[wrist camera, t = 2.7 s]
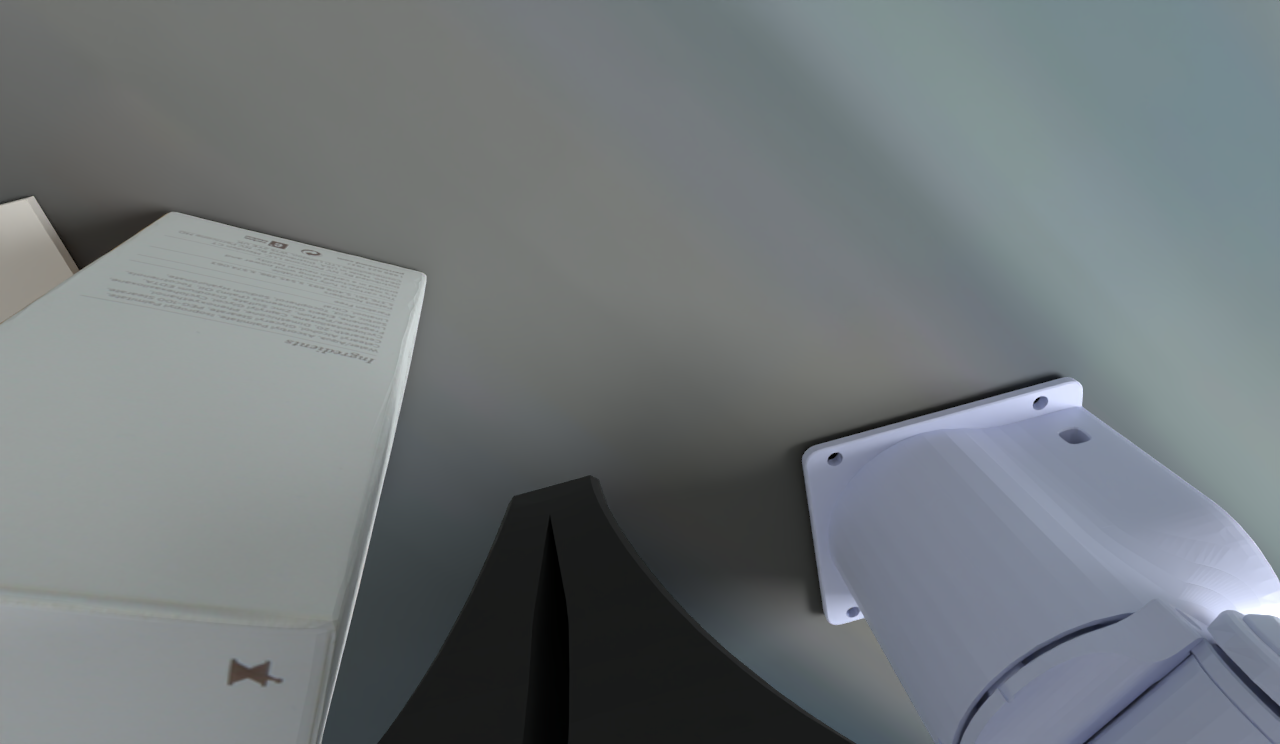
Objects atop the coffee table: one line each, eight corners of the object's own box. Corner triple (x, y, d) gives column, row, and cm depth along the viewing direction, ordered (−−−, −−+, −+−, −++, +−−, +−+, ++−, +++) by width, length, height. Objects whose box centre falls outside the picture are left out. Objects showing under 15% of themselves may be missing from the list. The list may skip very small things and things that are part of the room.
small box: (168, 204, 18) (-393, 546, 7) (431, 269, 20) (353, 624, 8) (145, 477, 21) (-268, 1042, 10) (377, 512, 23) (264, 1019, 11)
